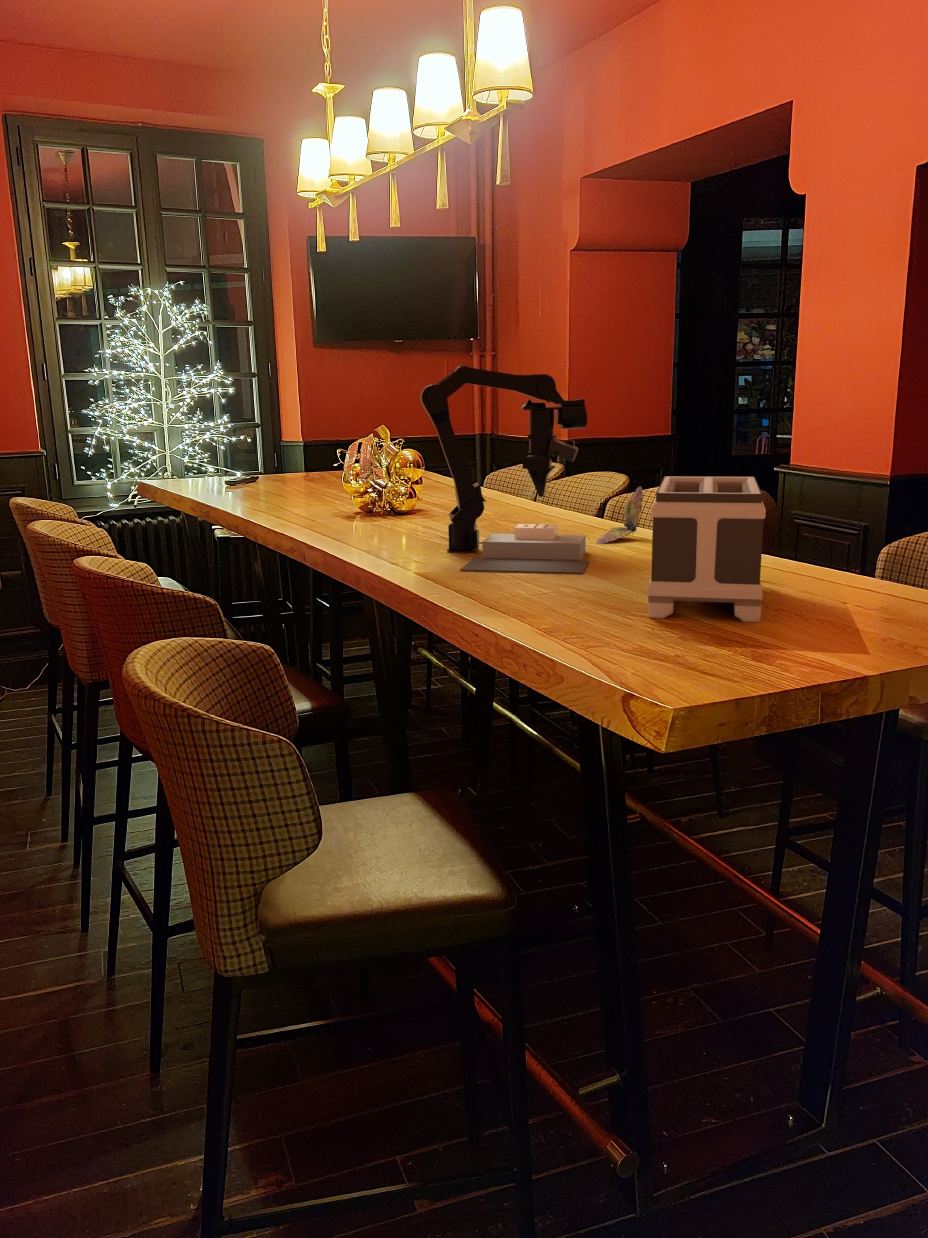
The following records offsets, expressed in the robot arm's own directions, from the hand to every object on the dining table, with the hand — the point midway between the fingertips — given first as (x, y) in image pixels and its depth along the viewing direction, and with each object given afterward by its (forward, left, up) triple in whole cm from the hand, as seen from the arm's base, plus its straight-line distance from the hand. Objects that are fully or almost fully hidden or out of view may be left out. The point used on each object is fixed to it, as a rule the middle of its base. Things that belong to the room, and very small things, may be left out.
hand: (541, 496), depth 226 cm
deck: (0, -11, -12) cm, 16 cm away
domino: (0, -9, -8) cm, 12 cm away
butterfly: (+17, +14, -13) cm, 25 cm away
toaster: (+37, -51, -13) cm, 64 cm away
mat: (0, -24, -12) cm, 27 cm away
